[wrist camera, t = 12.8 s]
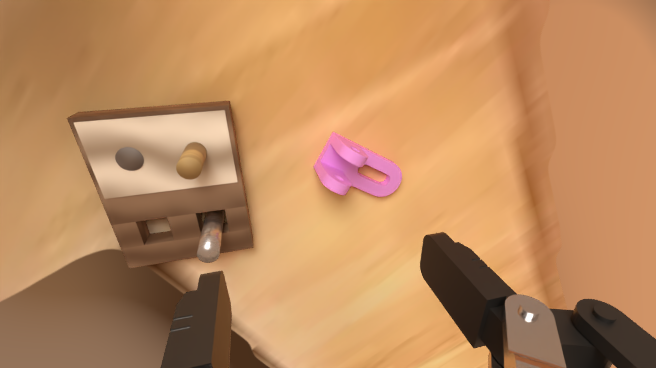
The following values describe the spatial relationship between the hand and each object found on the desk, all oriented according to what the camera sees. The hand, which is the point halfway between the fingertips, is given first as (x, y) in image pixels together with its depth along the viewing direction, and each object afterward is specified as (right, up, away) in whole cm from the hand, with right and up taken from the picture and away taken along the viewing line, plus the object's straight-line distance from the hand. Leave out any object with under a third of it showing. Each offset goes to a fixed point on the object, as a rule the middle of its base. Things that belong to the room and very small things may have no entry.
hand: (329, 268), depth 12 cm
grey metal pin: (-16, -1, +31) cm, 35 cm away
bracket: (+5, +6, +33) cm, 34 cm away
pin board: (-19, +3, +28) cm, 34 cm away
